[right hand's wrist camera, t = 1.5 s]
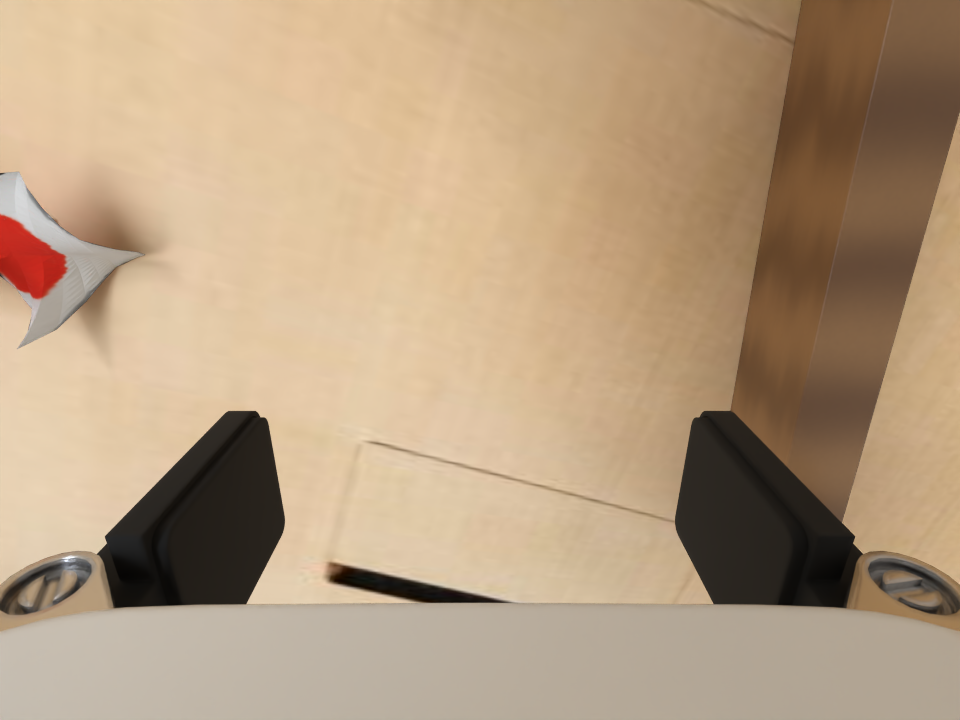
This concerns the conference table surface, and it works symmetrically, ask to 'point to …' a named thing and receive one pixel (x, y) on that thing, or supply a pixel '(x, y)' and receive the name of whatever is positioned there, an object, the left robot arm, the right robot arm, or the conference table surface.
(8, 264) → the fish
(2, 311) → the conference table surface
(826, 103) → the beam
